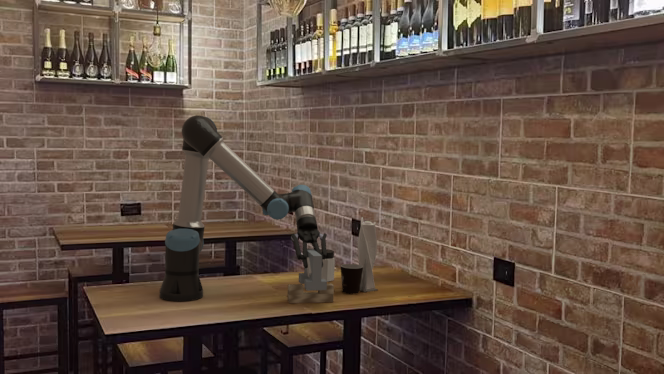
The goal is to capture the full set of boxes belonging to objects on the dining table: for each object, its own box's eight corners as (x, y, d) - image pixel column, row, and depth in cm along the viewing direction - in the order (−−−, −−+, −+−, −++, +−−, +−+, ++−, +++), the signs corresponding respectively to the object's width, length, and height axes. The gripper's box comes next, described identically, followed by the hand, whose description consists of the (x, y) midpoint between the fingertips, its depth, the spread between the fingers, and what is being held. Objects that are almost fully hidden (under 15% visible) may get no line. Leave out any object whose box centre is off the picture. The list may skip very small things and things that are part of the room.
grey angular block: (298, 281, 234) (299, 248, 233) (317, 280, 236) (318, 248, 235) (306, 290, 221) (307, 256, 220) (326, 289, 222) (327, 255, 221)
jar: (322, 276, 270) (323, 248, 269) (337, 279, 265) (338, 250, 264) (308, 279, 263) (309, 250, 262) (323, 282, 258) (324, 253, 257)
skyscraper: (350, 287, 252) (352, 216, 249) (365, 285, 257) (368, 215, 254) (364, 292, 245) (367, 219, 243) (379, 289, 250) (383, 218, 248)
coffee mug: (360, 295, 240) (361, 269, 239) (337, 293, 242) (338, 267, 241) (364, 288, 251) (365, 263, 250) (343, 286, 253) (344, 261, 252)
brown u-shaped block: (289, 303, 225) (289, 286, 225) (287, 301, 228) (288, 284, 228) (333, 302, 229) (333, 285, 229) (331, 299, 232) (331, 283, 232)
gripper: (325, 227, 244) (335, 280, 229) (283, 227, 240) (290, 281, 225) (329, 215, 238) (339, 268, 223) (286, 215, 234) (294, 269, 219)
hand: (315, 274), depth 224 cm, fingers closed on grey angular block, 3 cm apart
